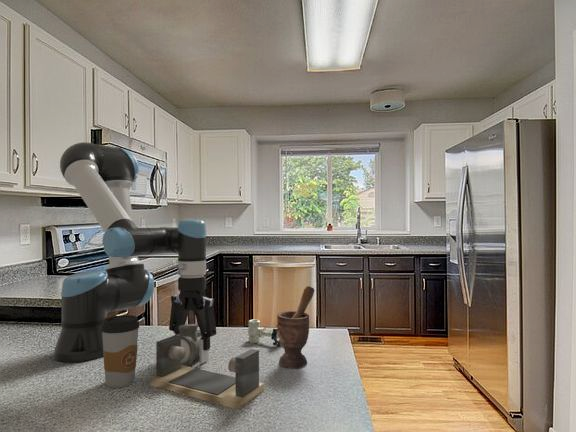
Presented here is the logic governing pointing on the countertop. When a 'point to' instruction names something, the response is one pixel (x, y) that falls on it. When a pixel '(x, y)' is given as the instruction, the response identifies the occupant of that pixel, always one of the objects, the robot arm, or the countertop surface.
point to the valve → (261, 333)
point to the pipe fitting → (190, 342)
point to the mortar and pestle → (294, 332)
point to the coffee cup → (120, 349)
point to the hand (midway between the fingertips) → (192, 359)
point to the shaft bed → (207, 376)
